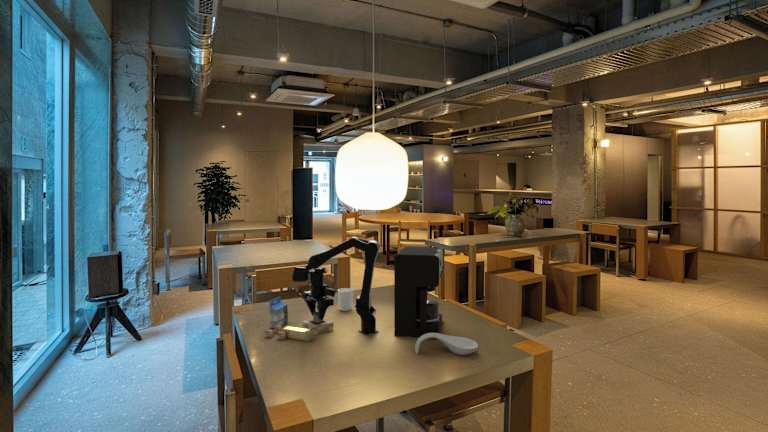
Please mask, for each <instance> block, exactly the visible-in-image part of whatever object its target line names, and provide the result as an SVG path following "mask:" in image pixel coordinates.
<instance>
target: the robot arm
mask: <svg viewBox="0 0 768 432" xmlns="http://www.w3.org/2000/svg"><path fill="white" fill-rule="evenodd" d="M351 248H354V249H355V248H356V249H357V250H359V251H363V252H364V259H365V260H364V261H365V264H364V272H363V277H362V278H363V279H362V285H361V292H360V294H358V295H357V296H356V298H355V306H354V308H355V311H356V313H357V315H358V316H359V317H360V327H361V328H359V329H358V332H360V333H362V334H364V335H366V336H367V335H368V336H369V335H372V334H375V333H379V329H376V325H377V323H376V321H377V319H376V317H375V316H376V314H377V309H376V308H375V307H374V306H373V305H372V294H371V292H372V284H373V277H374V272H375V271H374V270H375V264H376V260H377V258H378V255H379V252H380V248H381V244H380V243H379V242H378V241H377V240H373V239H372V240H369V239H364V238H361V237H360V238H359V237H357V236H352V237H350V238H349V239H347V240H345V241H343V242H341V243H340V244H338V245H335V246H333V247H332V248H330V249H326V250H324V251H321V252H317V253H315V254H313V255H311V256H310V257H309V259H308V263H307V265H306V266H295V267H293V273H292V277H291V278H292V281H293V283H308V281H310V284H308V288H309V289H310V290H308V291H306V290H305V291H303V292H302V293H301V298H302V299H303V301H304V302H305V305H306V306H307V308H308V310H309V312H310V314H311V317H313V311H316V310H318V313H319V317H320V319H321V320H323V319H324V318H325V315H326V312H327V310H328V308H329V307H331V306H334V304H335V300H334V299H333V298H335V295H336V292H337V290H336V289H333V288H331V287H330V286H329V285H328V284H325V282H324V281H325V280H324V279H325V277H324V274H327V273H328V272H329V270H328V269H327V268H326V266H323V265H324V264H325V263H327V262H328V261H330V260H331V259H332V258H334V257H336V256H338V255H340V254H341V253H345V251H348V250H350V249H351ZM322 266H323V267H322ZM321 267H322V268H321ZM331 297H332V298H331Z"/></svg>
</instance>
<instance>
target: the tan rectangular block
mask: <svg viewBox="0 0 768 432" xmlns="http://www.w3.org/2000/svg"><path fill="white" fill-rule="evenodd" d="M282 332H286V339H295V340H299V341H306V342H311V341H312V340H314V339H315V337H316V336H315V328H309V329H304V328H302V327H296V326H295V327H294V326H290V325H287V326H285V327H282Z"/></svg>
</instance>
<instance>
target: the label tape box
mask: <svg viewBox="0 0 768 432" xmlns="http://www.w3.org/2000/svg"><path fill="white" fill-rule="evenodd" d="M281 299H282V296H280V295H279V296H278V297H275V298H274V299H271V300H269V322H270V323H269V324H270V328H271V329H274V326H275V325H279V326H282V327H283V326H284V325H285V324H287V323H289V315H288V314H289V311H288V304H286V303H285V302H283V301H282V300H281Z"/></svg>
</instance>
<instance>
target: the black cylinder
mask: <svg viewBox="0 0 768 432" xmlns="http://www.w3.org/2000/svg"><path fill="white" fill-rule="evenodd" d="M312 319H313V324H315V325H316V324H320V323H323V320H321V319H320V317H319V313H318V310H317V309H315V311H313V316H312Z"/></svg>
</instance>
